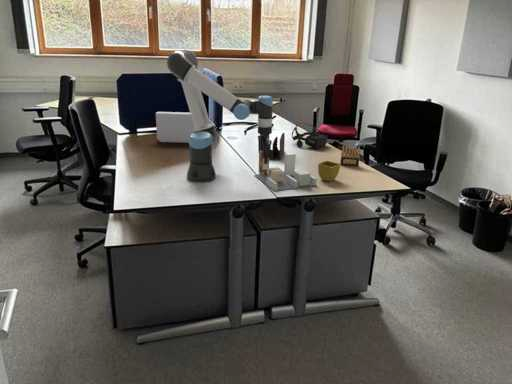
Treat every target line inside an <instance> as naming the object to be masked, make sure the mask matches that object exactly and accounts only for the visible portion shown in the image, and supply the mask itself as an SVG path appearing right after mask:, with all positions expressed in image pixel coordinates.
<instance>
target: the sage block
mask: <svg viewBox="0 0 512 384" xmlns="http://www.w3.org/2000/svg"><path fill="white" fill-rule="evenodd" d="M296 155H297V154H296V153H294V152H290V153H289V152H288V153H284V168H283V169H284V170H283V172H284V175H285V176H286V175H289V176H291V177H292V178H294V179H295V180H297V181H298V184H297V185H298V186H305V185H310V175H312V174H311V172H308V171H307V170H305V169H301V170H296Z"/></svg>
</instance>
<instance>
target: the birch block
mask: <svg viewBox="0 0 512 384" xmlns="http://www.w3.org/2000/svg"><path fill="white" fill-rule="evenodd" d="M262 157H264V156H263V151H259V152H258V173H259V174H266V175H267V177H270V178H271V179H272V180H274V181H275V182H282V177H283V172H284V170H283V169H281V168H280V167H278V166H276V167H275V166H274V167H270V160H269V158H268V168H267V169H264V170H263V169H262V165H263V158H262Z"/></svg>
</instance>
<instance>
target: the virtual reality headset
mask: <svg viewBox="0 0 512 384" xmlns="http://www.w3.org/2000/svg"><path fill="white" fill-rule="evenodd" d="M301 124H302V122H300V123H298V124H296V125H295V127H294V128H293V130H292V132H291V138H292V140H293V141H296V140H297V141H296V146H297V147H298V148H301V147H303V145H304V143H305V145H306V146H308V147H310V148H313V149H315V150H320V149H322V148H324V147H326V145H327V143H328V138H329V137H328V135H327V134H321V133H320V134H319V133H318V130H317V129H316V127H314V126H313V125H312V124H310V123H308V122H303V125H308V126H310V127H311V128H312V129H313V130H314V131H313V130H311V132H310V131H305V132H304V133H299V131H298V128H297V127H298V126H299V125H301ZM294 133H295V134H296V135H294ZM293 135H294V136H293ZM305 136H306V137H305ZM303 141H304V143H303Z"/></svg>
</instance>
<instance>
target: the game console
mask: <svg viewBox="0 0 512 384" xmlns="http://www.w3.org/2000/svg"><path fill="white" fill-rule="evenodd" d="M155 122H156V124H155V125H156V138H157V140H158V141H159V142H160V143H185V144H186V143H187V144H189V137H190V135H191V134H192V133H193V129H194V127H195V126H194V123H193V120H192V116H191V113H190V112H183V111H182V112H181V111H180V112H179V111H175V112H173V111H157V112H155Z"/></svg>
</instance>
